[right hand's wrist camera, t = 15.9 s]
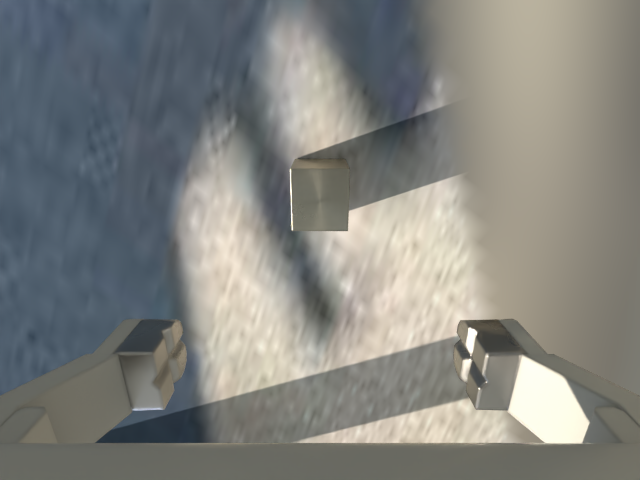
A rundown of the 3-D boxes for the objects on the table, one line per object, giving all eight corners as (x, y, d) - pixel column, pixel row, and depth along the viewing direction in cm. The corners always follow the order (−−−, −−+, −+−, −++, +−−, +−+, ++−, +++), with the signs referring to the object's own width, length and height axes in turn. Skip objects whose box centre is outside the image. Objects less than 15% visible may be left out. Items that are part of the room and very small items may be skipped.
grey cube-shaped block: (296, 212, 31) (291, 231, 27) (294, 158, 30) (290, 168, 25) (343, 212, 31) (348, 231, 27) (345, 158, 30) (349, 168, 25)
